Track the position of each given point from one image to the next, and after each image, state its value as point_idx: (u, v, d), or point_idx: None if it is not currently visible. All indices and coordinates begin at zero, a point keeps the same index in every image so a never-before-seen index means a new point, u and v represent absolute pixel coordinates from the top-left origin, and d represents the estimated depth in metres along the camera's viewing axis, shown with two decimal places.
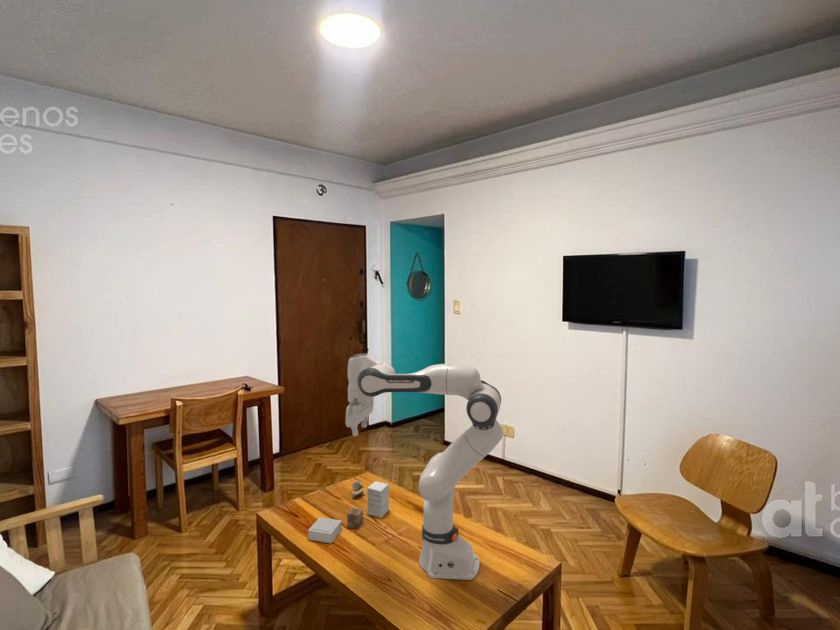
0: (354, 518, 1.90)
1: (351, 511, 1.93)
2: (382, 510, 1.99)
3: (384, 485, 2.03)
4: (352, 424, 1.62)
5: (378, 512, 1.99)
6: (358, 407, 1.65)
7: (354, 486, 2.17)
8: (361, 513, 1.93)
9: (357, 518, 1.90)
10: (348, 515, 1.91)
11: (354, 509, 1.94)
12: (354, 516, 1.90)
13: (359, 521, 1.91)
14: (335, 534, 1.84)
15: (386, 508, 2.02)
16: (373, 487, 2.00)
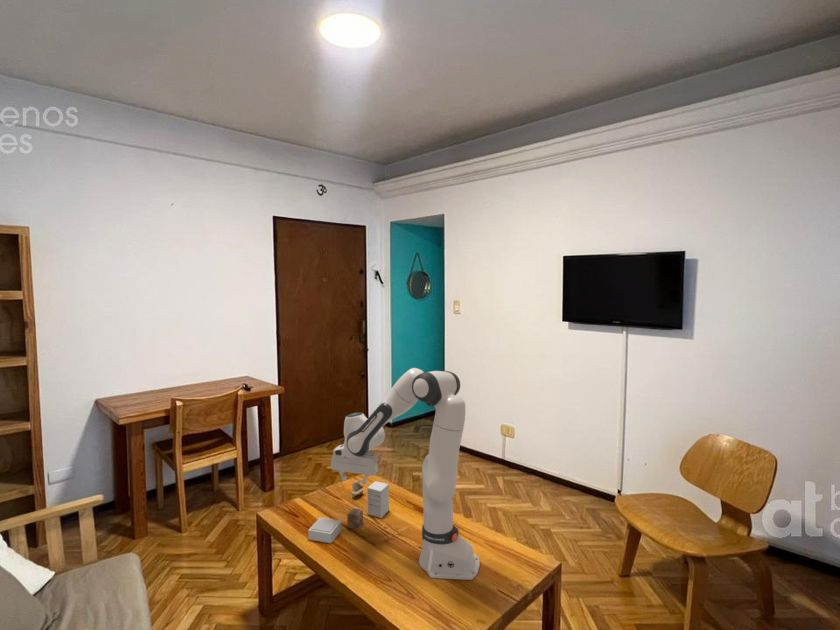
0: (354, 517, 1.90)
1: (351, 511, 1.93)
2: (382, 510, 1.99)
3: (384, 485, 2.03)
4: (377, 470, 1.89)
5: (378, 512, 1.99)
6: None
7: (354, 486, 2.17)
8: (361, 513, 1.93)
9: (357, 518, 1.90)
10: (348, 515, 1.91)
11: (354, 509, 1.94)
12: (354, 516, 1.90)
13: (359, 521, 1.91)
14: (335, 534, 1.84)
15: (386, 508, 2.02)
16: (373, 487, 2.00)
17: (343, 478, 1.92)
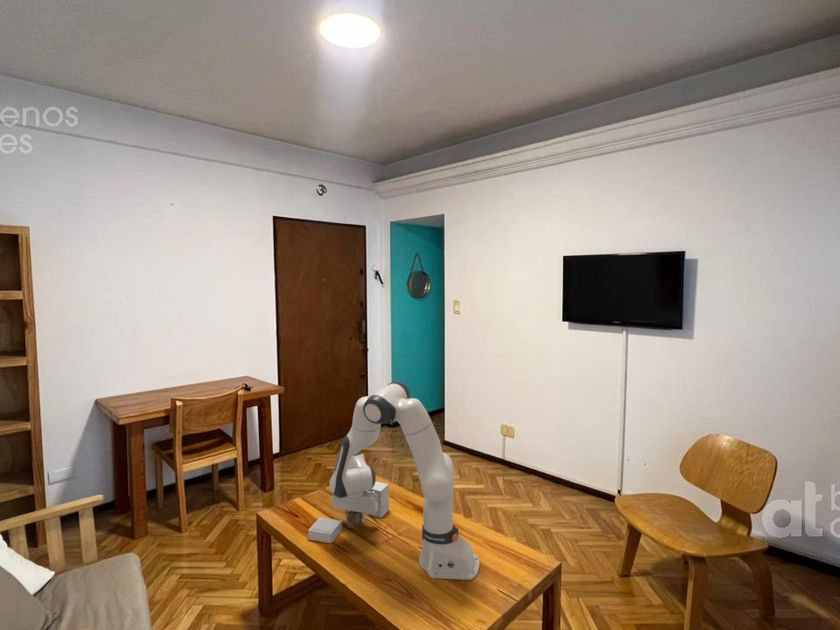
0: (354, 517, 1.90)
1: (351, 511, 1.93)
2: (382, 510, 1.99)
3: (384, 485, 2.03)
4: (377, 508, 1.91)
5: (378, 512, 1.99)
6: None
7: None
8: (361, 513, 1.93)
9: (357, 518, 1.90)
10: (348, 515, 1.91)
11: None
12: (354, 516, 1.90)
13: (359, 520, 1.91)
14: (335, 534, 1.84)
15: (386, 508, 2.02)
16: (373, 487, 2.00)
17: None
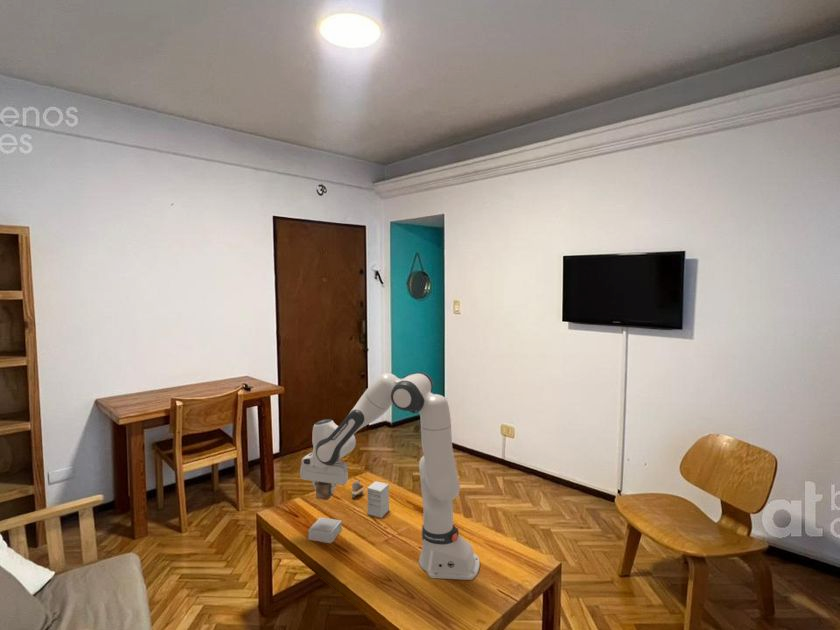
0: (323, 488, 1.82)
1: (320, 482, 1.84)
2: (382, 510, 1.99)
3: (384, 485, 2.03)
4: (347, 479, 1.82)
5: (378, 512, 1.99)
6: None
7: (354, 486, 2.17)
8: None
9: (326, 489, 1.81)
10: (317, 486, 1.82)
11: None
12: (323, 487, 1.81)
13: (328, 492, 1.82)
14: (335, 534, 1.84)
15: (386, 508, 2.02)
16: (373, 487, 2.00)
17: None
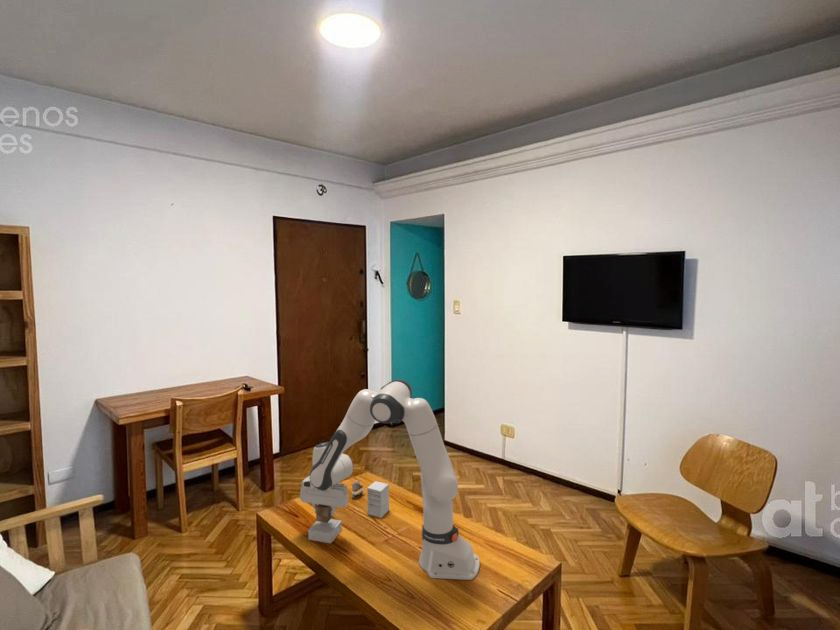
0: (323, 511, 1.82)
1: (320, 504, 1.85)
2: (382, 510, 1.99)
3: (384, 485, 2.03)
4: (347, 501, 1.83)
5: (378, 512, 1.99)
6: None
7: (354, 486, 2.17)
8: None
9: (326, 511, 1.82)
10: (317, 508, 1.83)
11: None
12: (323, 510, 1.82)
13: (328, 514, 1.83)
14: (335, 534, 1.84)
15: (386, 508, 2.02)
16: (373, 487, 2.00)
17: None
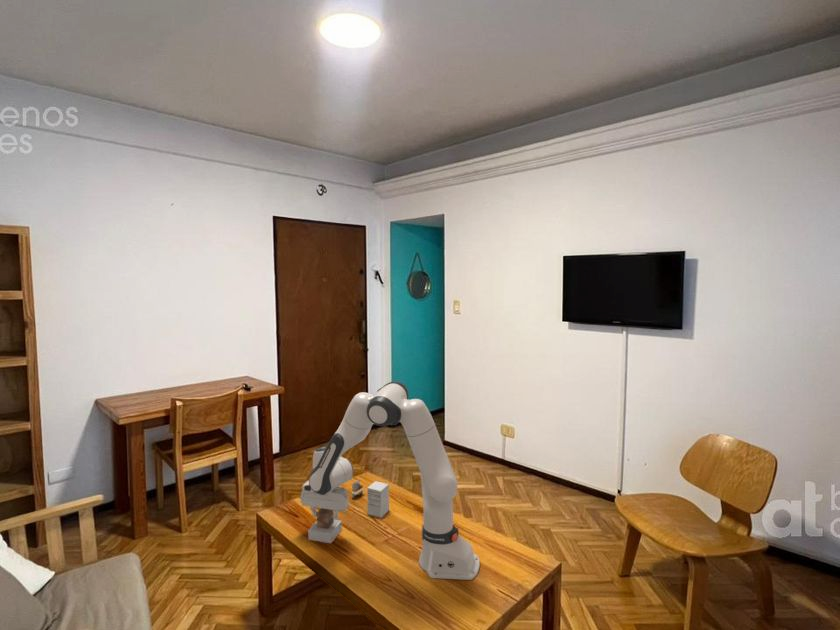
0: (324, 517, 1.83)
1: (320, 510, 1.85)
2: (382, 510, 1.99)
3: (384, 485, 2.03)
4: (348, 505, 1.83)
5: (378, 512, 1.99)
6: None
7: (354, 486, 2.17)
8: (331, 512, 1.85)
9: (327, 517, 1.82)
10: (317, 514, 1.83)
11: None
12: (323, 516, 1.83)
13: (329, 520, 1.83)
14: (335, 534, 1.84)
15: (386, 508, 2.02)
16: (373, 487, 2.00)
17: (314, 514, 1.86)
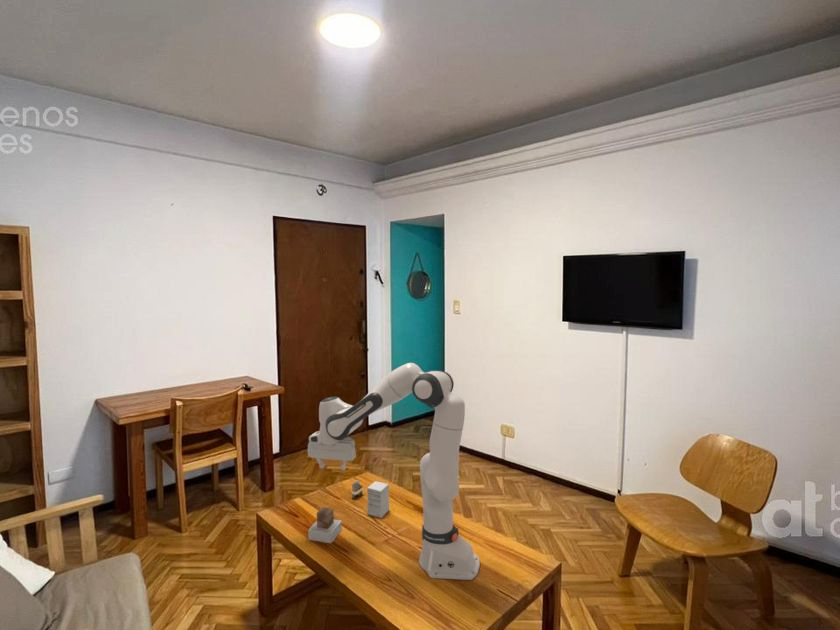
0: (324, 517, 1.83)
1: (320, 510, 1.85)
2: (382, 510, 1.99)
3: (384, 485, 2.03)
4: (355, 455, 1.83)
5: (378, 512, 1.99)
6: None
7: (353, 486, 2.17)
8: (331, 512, 1.85)
9: (327, 517, 1.82)
10: (317, 514, 1.83)
11: (324, 508, 1.87)
12: (323, 516, 1.83)
13: (329, 520, 1.83)
14: (335, 534, 1.84)
15: (386, 508, 2.02)
16: (373, 487, 2.00)
17: (321, 465, 1.86)
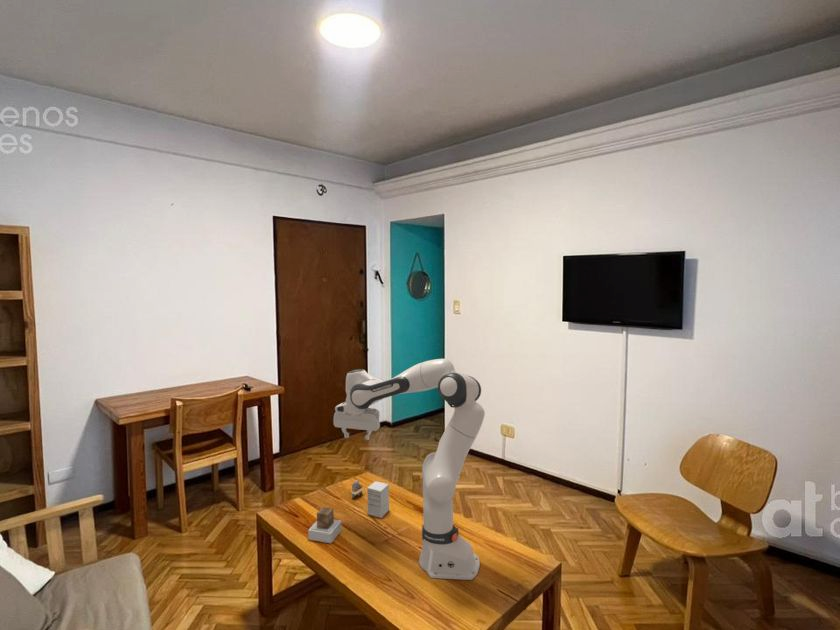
0: (324, 517, 1.83)
1: (320, 510, 1.85)
2: (382, 510, 1.99)
3: (384, 485, 2.03)
4: (379, 426, 1.90)
5: (378, 512, 1.99)
6: None
7: (353, 486, 2.17)
8: (331, 512, 1.85)
9: (327, 517, 1.82)
10: (317, 514, 1.83)
11: (324, 508, 1.87)
12: (323, 516, 1.83)
13: (329, 520, 1.83)
14: (335, 534, 1.84)
15: (386, 508, 2.02)
16: (373, 487, 2.00)
17: (345, 435, 1.93)
